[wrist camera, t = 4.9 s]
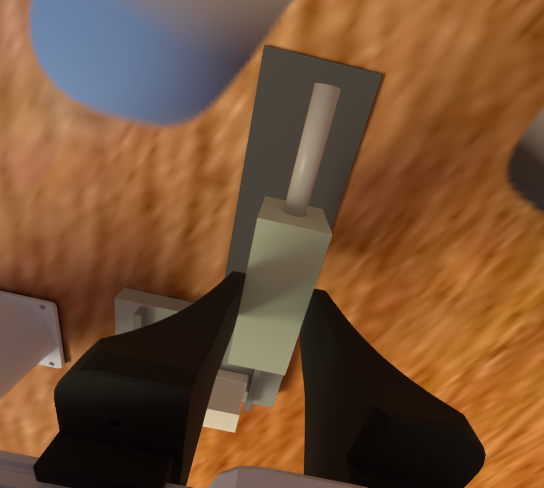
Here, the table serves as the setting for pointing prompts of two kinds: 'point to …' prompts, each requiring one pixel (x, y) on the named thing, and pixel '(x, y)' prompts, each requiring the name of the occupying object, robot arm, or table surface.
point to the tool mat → (297, 138)
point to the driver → (286, 254)
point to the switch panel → (152, 308)
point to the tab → (226, 400)
